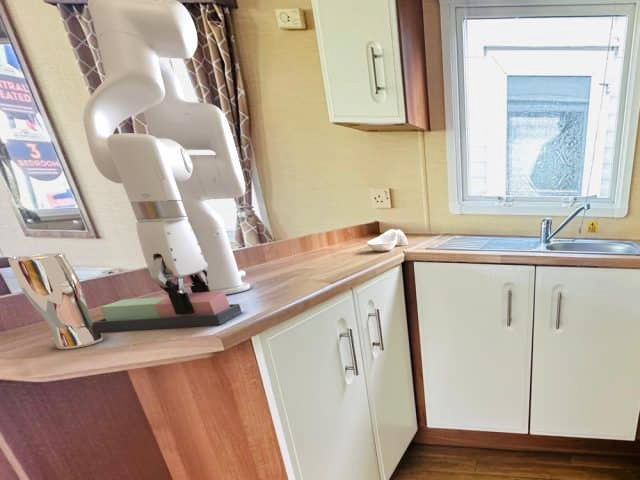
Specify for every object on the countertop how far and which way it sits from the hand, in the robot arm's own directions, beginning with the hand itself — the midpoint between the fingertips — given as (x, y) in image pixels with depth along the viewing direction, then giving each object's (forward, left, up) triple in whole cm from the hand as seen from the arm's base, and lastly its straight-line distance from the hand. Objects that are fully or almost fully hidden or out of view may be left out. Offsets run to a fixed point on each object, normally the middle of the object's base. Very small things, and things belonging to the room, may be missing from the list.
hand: (195, 308), depth 84 cm
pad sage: (0, -10, -2) cm, 11 cm away
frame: (0, -5, -3) cm, 6 cm away
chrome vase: (+11, -14, -3) cm, 18 cm away
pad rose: (0, 0, -2) cm, 2 cm away
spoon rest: (-102, +21, -3) cm, 104 cm away
